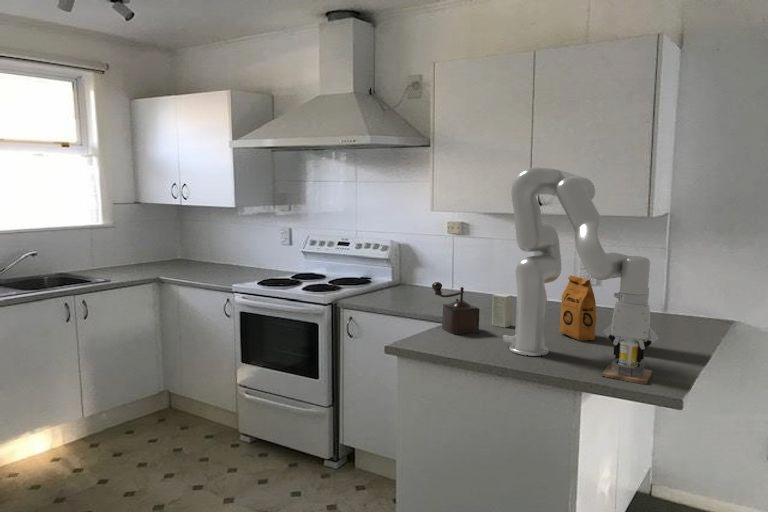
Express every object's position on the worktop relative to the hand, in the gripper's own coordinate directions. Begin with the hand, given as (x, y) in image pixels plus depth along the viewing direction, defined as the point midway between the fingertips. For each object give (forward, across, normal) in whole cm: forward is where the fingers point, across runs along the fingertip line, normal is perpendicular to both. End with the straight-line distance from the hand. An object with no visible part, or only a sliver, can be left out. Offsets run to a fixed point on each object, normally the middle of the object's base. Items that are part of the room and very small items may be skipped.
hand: (628, 359), depth 181 cm
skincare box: (+5, -52, +37) cm, 64 cm away
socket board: (+5, 0, 0) cm, 5 cm away
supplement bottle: (+2, 0, 0) cm, 2 cm away
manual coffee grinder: (+5, -64, +18) cm, 66 cm away
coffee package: (+5, -23, +37) cm, 44 cm away
